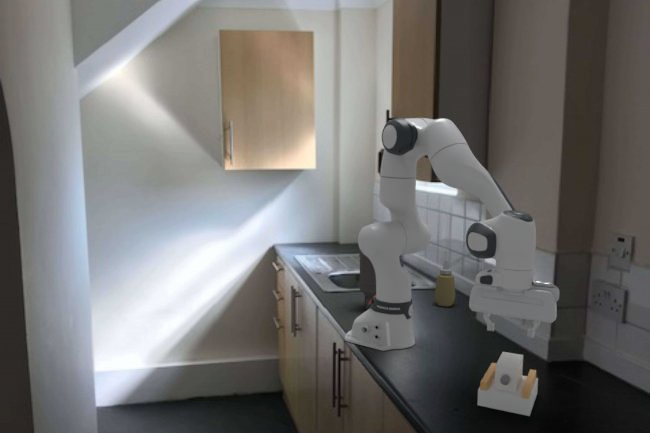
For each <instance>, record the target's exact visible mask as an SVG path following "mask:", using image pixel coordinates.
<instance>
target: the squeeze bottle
mask: <svg viewBox="0 0 650 433" xmlns="http://www.w3.org/2000/svg"><path fill="white" fill-rule="evenodd" d="M434 289H435V291H434V298H435V301H436V305H437V306H440V307H452V306H453V305H454V304H453V303H454V301H455V299H456V286H455V275H453V269H451V268H450V265H449V260H448V259H445V260H444V262H443V266H442V268H440V269H439V273H438V274H437V276H436V282H435V288H434Z"/></svg>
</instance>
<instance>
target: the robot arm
mask: <svg viewBox="0 0 650 433" xmlns="http://www.w3.org/2000/svg"><path fill="white" fill-rule="evenodd" d="M381 143H382V146H383V148H384V149H383V152H382V153H383V154H382V158H381V164H380V175H379V193H378V194H379V195H378V198H379V202H380V203H381V205H383V207H385V208H386V209H387V210H388V211H389V214H390V220H389V221H378V222H377V221H376V222H374V223H371V224H368V225H365V226H363V227H362V228H361V229H360V231H359V233H358V236H357V243H358V248H359V251H360V250H361V251H362V253H363V254H364V255H365V256H367V257H368V258H369V259H370V261H371V262H372V264H373V267H374V270H375V274H376V295H375V296H374V297H373V298H372V299H371V300H370V301H369V302H370V303H369V305H370V304H371V308H370V309H368V310H367V309H366V311H365V310H364V312H363V313H361V314H360V315H358V316H357V317H356V318H355V319H354V321H353V323H352V327H351V330H349V331H348V332H346V333H345V334H344V335H345V336H344V341H346V342H347V343H352V344H356V345H360V346H364V347H367V348H370V349H374V350H379V351H384V352H385V351H391V350H400V349H401V350H402V349H407V348H411V347H413V346H414V345H415V344H416V340H415V336H414V331H413V325H412V324H413V323H412V317H413V309H414V308H413V307H414V305H413V299H412V281H413V280H412V274H411V273H410V271H408V270H407V269H406V268H404V267H402V263H401V260H400V256H405V255H412V254H416V253H419V252H421V251H424V250H426V249H427V248H428V247H429V245H430V243H431V238H432V236H431V230H430V228H429V226H428V224H427V223H425V222H424V221H423V220H422V218H421V216H420V214H419V212H418V208H417V203H416V202H417V200H416V194H417V193H416V192H417V191H416V189H417V164H418V161H419V160H420V159H421V157H424V158H426V159H428V160H429V162H430V164H431V168H432V170H433V172H434V174H435V176H437V179H438V180H439V181H440V182H441V183H443V184H444V185H445V186H447V187H450V188H453V189H457V190H459V191H463V192H466V193H469V194H471V195H473V196H474V197H476V198H478V199H479V200H480V202H482V204H483V205H484V207H485V208H486V209H487V211H488V213H489V214H490V216H491V218H490V219H484V220H481V221H477V222H473V223H471V225H470V226H469V228H468V229H467V231H466V235H465V243H466V244H465V246H466V248H467V250H468V251H469V254H471V255H472V256H473V257H474V258H477V259H480V260H481V259H483V260H487V259H488V260H489V259H493V260H494V261H495V268H492V269H491V268H490V269H484V270H481V271H479V272H478V273H477V274H476V275H475V279H474V281H475V282H474V283H475V284H473V286H472V288H471V291H470V296H469V300H468V301H469V302H468V307H469V309H470V310H471V312H477V313H483V314H482V317H483V319H484V321H485V323H486V324H487V325H486V327H487V328H486V331H488V332H494V331H495V322H492V320H491V319H490V318H491V315H497V316H504V317H510V318H517V319H523V320H528V321H529V320H530V321H532V325H533V327H532V328H529V327H528V328H527V331H526V332H527V333H526V337H527V338H530V339H531V338H532V339H534V338H535V331H536V330H537V329H538V327H539V326H540V324H541V322H545V323H548V324H549V323H550V324H552V323H554V322H555V321H556V320H557V312H558V310H557V307H558V306H557V302H558V301H559V299H560V288H559V287H558V286H557V285H555V284H554V283H553V282H543V281H540V280H539V281H537V280H534V274H535V265H534V256H535V252H536V249H537V248H536V245H537V227H536V222H535V218H534V217H533V216H532V215H530V213H527V212H524V211H519V210H516V209H515V207H514V205H513V204H512V203H511V201H510V200H509V198H508V196H507V195H506V194H505V192H504V191H503V189H502V188H501V186H500V185H499V183H498V181H497V180H496V178H494V176H493V175H492V174H491V173H490V172H489V171H488V170H487V169H486V168H485V167H484V166H483V165H482V164H481V163H480V161H479V160H478V159H477V158H476V157H475V155H474V153H473V152H472V150H471V149H470V146H469V144H468V142H467V140H466V138H465V137H464V136H463V134H462V132H461V131H460V130H459V128H458V127H457V125H456V124H455V123H454V122H453V121H452V120H451V119H448V118H444V117H443V118H442V117H441V118H435V119H434V118H429V117H428V118H426V117H415V118H414V117H411V118H410V117H409V118H402V117H399V118H395V119H390V120H388V121H387V122H386V123H385V124H384V127H383V128H382V131H381Z"/></svg>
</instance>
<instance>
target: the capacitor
mask: <svg viewBox="0 0 650 433" xmlns="http://www.w3.org/2000/svg"><path fill="white" fill-rule="evenodd" d="M358 257H359V279H358V283H359V286H358V288H359V291H361V293H363V295H364V307H363V308H364V309H365V310H366V311H367V310H368V309H370V308H371V304H370V305H369V303H370V302H369V301H370V300H371V299H372V298H373V297H374V296H375V295H376V274H375V270H374V267H373V264H372V262H371V261H370V259H369V258H368V257H367V256H365V255H364V254H363V253H362V251H361V250H360V249H359V256H358Z"/></svg>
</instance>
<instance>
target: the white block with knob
mask: <svg viewBox="0 0 650 433" xmlns="http://www.w3.org/2000/svg"><path fill="white" fill-rule="evenodd" d="M495 363H496V369H495V389H499V390H505V391H510V392H515V393H516V392H517V389H518V387H519V384H520V382H521V379H522V375H523V369H524V354H520V353H519V354H518V353H514V352H506V351H502V353H501V354H500V356H499V358H498V360H497V361H496V362H495Z"/></svg>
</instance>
